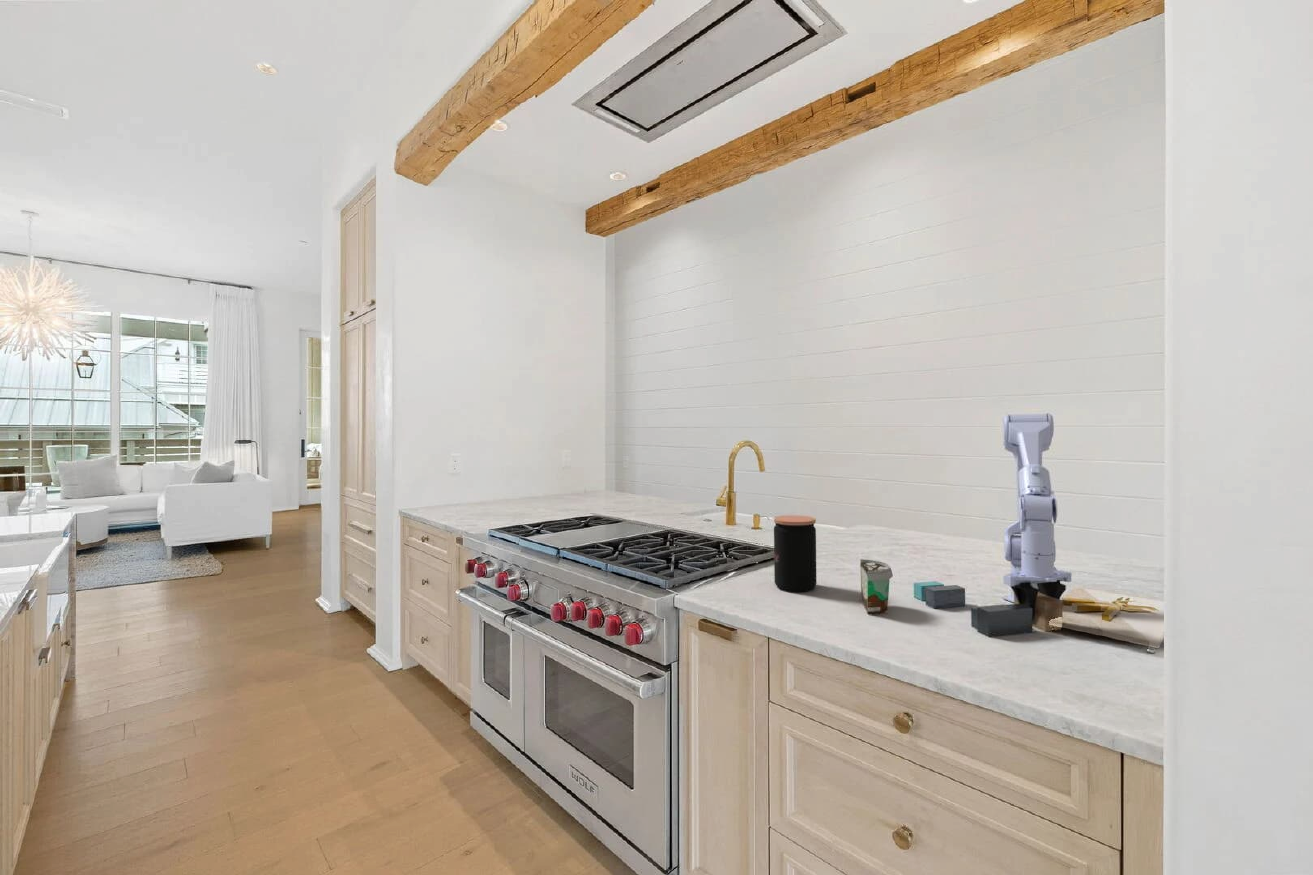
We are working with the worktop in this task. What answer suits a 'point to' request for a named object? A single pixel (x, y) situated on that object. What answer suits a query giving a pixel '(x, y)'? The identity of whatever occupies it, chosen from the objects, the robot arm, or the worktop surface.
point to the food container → (875, 586)
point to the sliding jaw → (939, 594)
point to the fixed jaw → (1002, 619)
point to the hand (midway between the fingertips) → (1037, 617)
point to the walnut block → (1045, 611)
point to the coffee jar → (795, 553)
